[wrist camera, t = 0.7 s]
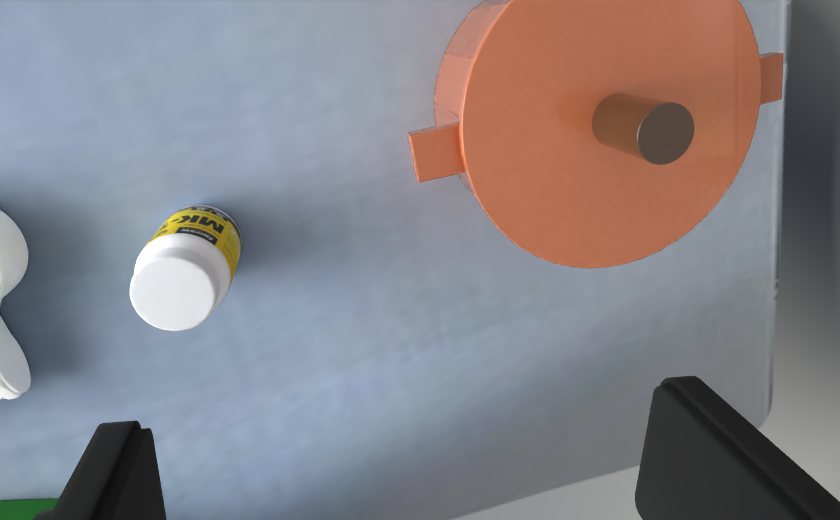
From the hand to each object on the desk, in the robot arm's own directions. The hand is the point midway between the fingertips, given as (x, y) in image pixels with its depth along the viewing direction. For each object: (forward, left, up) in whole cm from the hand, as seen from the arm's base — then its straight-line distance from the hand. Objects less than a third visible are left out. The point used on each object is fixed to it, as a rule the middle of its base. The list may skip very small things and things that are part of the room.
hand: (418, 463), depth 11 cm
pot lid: (-7, +12, -19) cm, 23 cm away
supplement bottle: (+6, -7, -28) cm, 30 cm away
